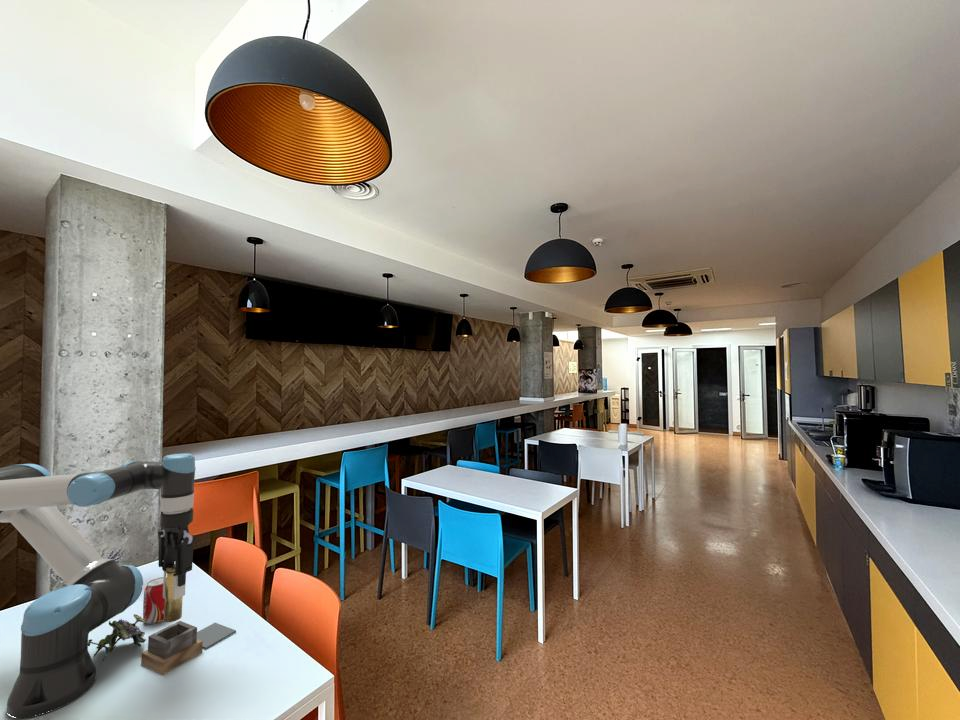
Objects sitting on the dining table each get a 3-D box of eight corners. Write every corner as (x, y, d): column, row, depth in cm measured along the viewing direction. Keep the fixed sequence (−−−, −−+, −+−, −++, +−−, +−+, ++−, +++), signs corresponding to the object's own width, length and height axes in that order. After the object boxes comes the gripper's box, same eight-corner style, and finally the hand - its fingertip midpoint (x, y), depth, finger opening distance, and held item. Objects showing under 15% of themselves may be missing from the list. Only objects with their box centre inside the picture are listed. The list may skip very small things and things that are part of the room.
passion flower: (135, 665, 119) (159, 632, 118) (89, 683, 109) (115, 647, 108) (121, 633, 123) (144, 601, 123) (76, 647, 114) (101, 613, 113)
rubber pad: (205, 649, 117) (205, 647, 117) (184, 640, 121) (184, 638, 121) (236, 632, 125) (236, 630, 125) (215, 624, 129) (215, 622, 129)
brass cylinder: (184, 616, 115) (187, 565, 116) (168, 624, 111) (171, 571, 112) (177, 612, 117) (179, 562, 118) (160, 620, 113) (163, 568, 114)
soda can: (158, 626, 129) (160, 586, 129) (136, 625, 129) (138, 586, 129) (175, 613, 136) (177, 576, 136) (154, 613, 136) (156, 576, 136)
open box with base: (162, 674, 107) (163, 647, 107) (140, 664, 111) (142, 637, 111) (202, 651, 116) (203, 626, 116) (180, 642, 120) (181, 618, 121)
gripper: (209, 510, 116) (206, 595, 114) (173, 502, 123) (170, 583, 121) (181, 518, 109) (177, 609, 108) (144, 509, 116) (141, 595, 115)
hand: (173, 595), depth 114 cm, fingers closed on brass cylinder, 4 cm apart
